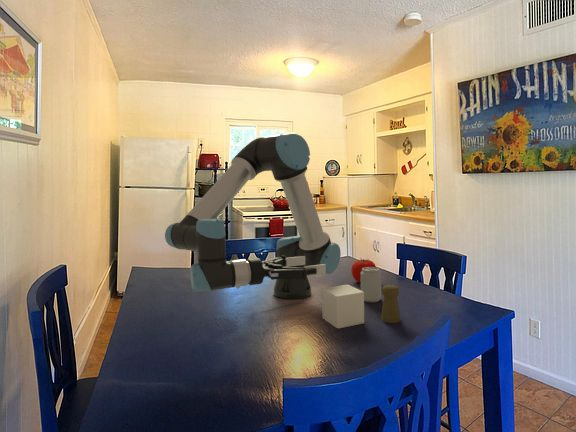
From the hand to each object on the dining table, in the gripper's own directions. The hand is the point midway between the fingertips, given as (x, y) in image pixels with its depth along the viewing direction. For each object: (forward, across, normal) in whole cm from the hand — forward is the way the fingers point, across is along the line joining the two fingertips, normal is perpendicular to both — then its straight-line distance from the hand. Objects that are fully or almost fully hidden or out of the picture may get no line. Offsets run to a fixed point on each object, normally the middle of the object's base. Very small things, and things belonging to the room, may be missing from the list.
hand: (314, 264), depth 111 cm
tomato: (+42, -35, -19) cm, 58 cm away
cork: (+24, +6, -20) cm, 31 cm away
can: (+30, -13, -20) cm, 38 cm away
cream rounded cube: (+10, 0, -19) cm, 22 cm away
